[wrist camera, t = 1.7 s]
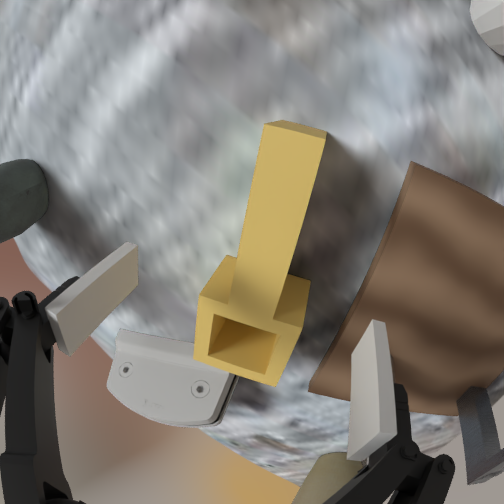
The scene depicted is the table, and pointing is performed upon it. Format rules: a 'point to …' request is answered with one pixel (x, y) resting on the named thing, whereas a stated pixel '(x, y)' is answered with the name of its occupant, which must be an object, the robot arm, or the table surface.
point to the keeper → (479, 436)
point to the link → (263, 264)
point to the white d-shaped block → (168, 381)
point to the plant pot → (327, 478)
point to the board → (430, 296)
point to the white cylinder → (489, 22)
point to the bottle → (21, 197)
